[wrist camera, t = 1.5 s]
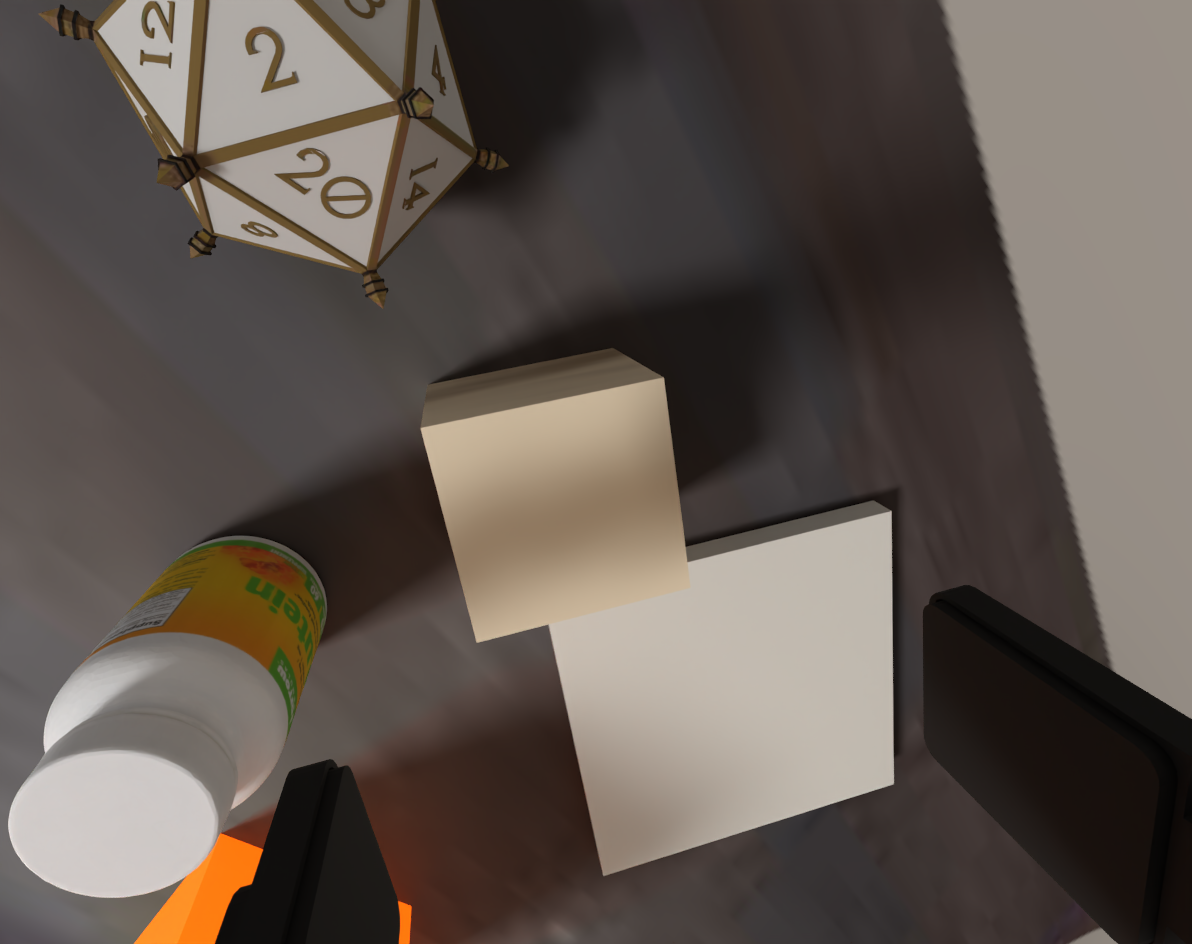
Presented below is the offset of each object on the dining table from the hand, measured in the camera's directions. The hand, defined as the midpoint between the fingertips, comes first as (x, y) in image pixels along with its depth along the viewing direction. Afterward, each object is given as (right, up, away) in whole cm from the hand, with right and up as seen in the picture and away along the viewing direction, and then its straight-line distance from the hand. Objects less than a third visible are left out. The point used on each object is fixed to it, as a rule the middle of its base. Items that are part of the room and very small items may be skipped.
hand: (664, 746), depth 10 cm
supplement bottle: (-13, 0, +13) cm, 18 cm away
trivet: (+5, -5, +18) cm, 19 cm away
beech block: (-3, +5, +13) cm, 15 cm away
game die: (-9, +14, +9) cm, 19 cm away
